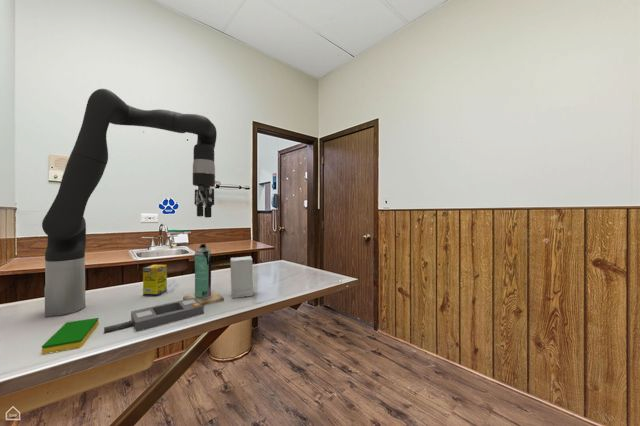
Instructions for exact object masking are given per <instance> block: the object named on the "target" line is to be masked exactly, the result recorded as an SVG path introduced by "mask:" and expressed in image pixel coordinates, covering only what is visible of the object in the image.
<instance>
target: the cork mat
mask: <svg viewBox="0 0 640 426" xmlns="http://www.w3.org/2000/svg"><path fill="white" fill-rule="evenodd" d="M190 298H195V293H194V294H189V295H185V296H183V297H182V300H185V299H190ZM196 300H197V299H196ZM224 300H225V298H224V297H223V295H221V294H219V293H218V292H216V291H215V290H213V289H211V297H210V298H208V299H204V300H197V301H198V302H200V303H201V304H202V305H203V306H206V305H211V304H215V303H219V302H223V301H224Z"/></svg>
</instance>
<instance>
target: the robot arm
mask: <svg viewBox="0 0 640 426" xmlns="http://www.w3.org/2000/svg"><path fill="white" fill-rule="evenodd" d="M86 103H87V104H86V107H85V111H84V115H83V119H82V124H81V127H80V130H79V133H78V135H77V136H76V137H77V138H76V141H75V143H74V145H73V148H72V150H71V152H70V155H69V157H68V160H67V163H66V165H65V169H64V171H63V174H62V177H61V180H60V185H59V189H58V192H57V194H56V196H55V198H54V200H53V201H52V203H51V205H50V207H49V209H48V211H47V212H46V214H45V216H44V217H43V219H42V221H41V222H42V223H41V227H42V228H41V229H42V230H43V232H44V234H45V235H46V236H47V244H46V245H47V246H46V249H45V253H44V265H45V266H44V267H45V269H44V270H45V271H44V275H45V276H44V277H45V282H44V283H45V284H44V318H45V317H50V316H51V317H53V316H54V317H56V316H57V317H58V316H64V315H69V314H72V313H75V312H79V311H81V310H83V309H85V307H86V254H85V253H86V245H87V223H86V219H85V217H84V214H85V210H86V207H87V204H88V201H89V199H90V197H91V196H92V194H93V192H94V191H95V190H96V188H97V186H98V185H99V183H100V181H101V179H102V177H103V175H104V173H105V170H106V167H107V165H108V161H109V150H108V143H107V132H108V129H109V126H110V124H112V125H116V126H133V127H144V128H145V127H146V128H150V129H151V128H152V129H158V130H163V131H168V132H172V133H179V134H186V133H189V134H193V135H197V139H196V140H197V141H196V144H194V146H193V162H192V185H193V186H195V187H197V189H194V203H193V204H194V205H195V207H196V217H200V218H201V217H204V218H212V207H213V206H215V188H213V187H215V186H216V165H215V147H216V142H217V136H218V135H217V129H216V126H215V124H214V123H213V122H212V121H211V120H210V118H208V117H206V116H204V115H201V114H196V113H195V114H194V113H181V112H177V111H172V110H168V109H160V108H159V109H151V110H148V109H147V110H145V109H140V108H138V107H133V106H131V105H129V104H127V103H126V102H125V101H124V100H122V98H120V96H118V95H117V94H116V93H114V92H113V91H111V90H109V89H107V88H98V89H96V90H94V91H93V92H92V93H91V94H90V96H88V99H87V102H86Z"/></svg>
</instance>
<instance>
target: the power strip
mask: <svg viewBox="0 0 640 426" xmlns="http://www.w3.org/2000/svg"><path fill="white" fill-rule="evenodd" d="M204 306H205V305H202V304H201V303H200V302H198V301H197V300H196V299H195V298H190V299H185V300H183V299H182V300H178V301H173V302H168V303H163V304H159V305H158V304H157V305H154V306H150V307H145V308H141V309H140V308H139V309H137V310H131V312H130V316H131V317H130V318H131V319H130V320H129V321H126V322H121V323H117V324H113V325H108V326H105V327H103V333H108V332H112V331H117V330H120V329H124V328H129V327H132V326H133V328H134V330H135V332H139V331H143V329H144V330H148V329H150V328H155V327H158V326H162V325H165V324H169V322H170V323H173V321H174V322H178V321H181V320H184V319H185V320H186V319H189V318H192V316H193V317H196V316H200V315H203V313H204V310H205V309H204ZM188 317H189V318H188ZM177 320H178V321H177ZM147 328H148V329H147Z"/></svg>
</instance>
